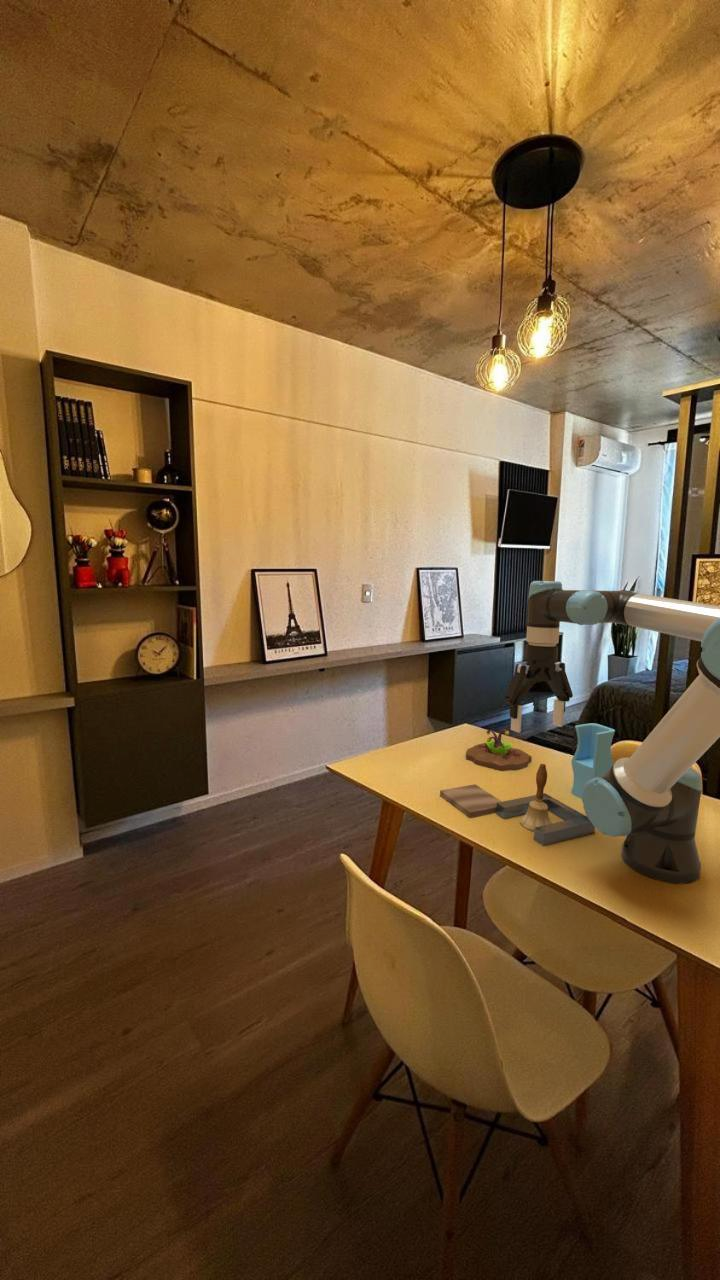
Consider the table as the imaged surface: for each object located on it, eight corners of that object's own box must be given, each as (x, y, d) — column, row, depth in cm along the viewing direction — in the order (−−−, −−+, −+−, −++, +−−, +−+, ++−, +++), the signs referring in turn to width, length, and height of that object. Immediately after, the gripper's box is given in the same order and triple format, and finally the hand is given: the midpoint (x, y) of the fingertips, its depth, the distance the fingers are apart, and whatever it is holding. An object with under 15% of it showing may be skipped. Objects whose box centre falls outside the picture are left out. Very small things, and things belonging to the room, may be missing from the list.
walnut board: (506, 810, 140) (507, 804, 139) (469, 817, 135) (470, 812, 134) (474, 789, 152) (475, 784, 152) (439, 795, 147) (440, 790, 147)
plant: (507, 777, 163) (510, 742, 161) (456, 758, 177) (458, 726, 175) (539, 762, 176) (542, 729, 175) (490, 746, 191) (492, 716, 189)
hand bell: (549, 818, 136) (554, 759, 134) (558, 834, 128) (563, 771, 126) (516, 815, 137) (521, 757, 134) (523, 831, 129) (528, 769, 126)
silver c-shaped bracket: (594, 832, 129) (595, 821, 128) (542, 845, 122) (543, 833, 122) (544, 803, 144) (545, 793, 144) (496, 813, 137) (496, 802, 137)
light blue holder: (568, 792, 152) (574, 725, 149) (587, 787, 156) (593, 722, 153) (591, 803, 145) (598, 733, 142) (610, 798, 149) (617, 730, 146)
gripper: (568, 640, 137) (563, 719, 140) (491, 643, 127) (487, 729, 129) (591, 644, 130) (585, 727, 133) (512, 647, 120) (507, 737, 122)
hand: (537, 728), depth 131 cm, fingers open, 13 cm apart
